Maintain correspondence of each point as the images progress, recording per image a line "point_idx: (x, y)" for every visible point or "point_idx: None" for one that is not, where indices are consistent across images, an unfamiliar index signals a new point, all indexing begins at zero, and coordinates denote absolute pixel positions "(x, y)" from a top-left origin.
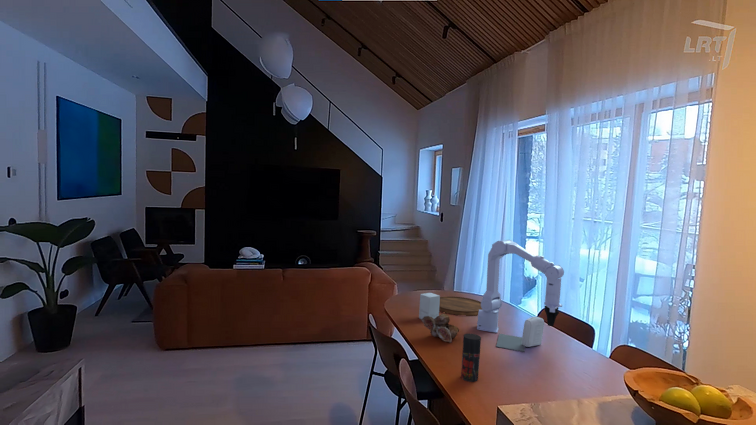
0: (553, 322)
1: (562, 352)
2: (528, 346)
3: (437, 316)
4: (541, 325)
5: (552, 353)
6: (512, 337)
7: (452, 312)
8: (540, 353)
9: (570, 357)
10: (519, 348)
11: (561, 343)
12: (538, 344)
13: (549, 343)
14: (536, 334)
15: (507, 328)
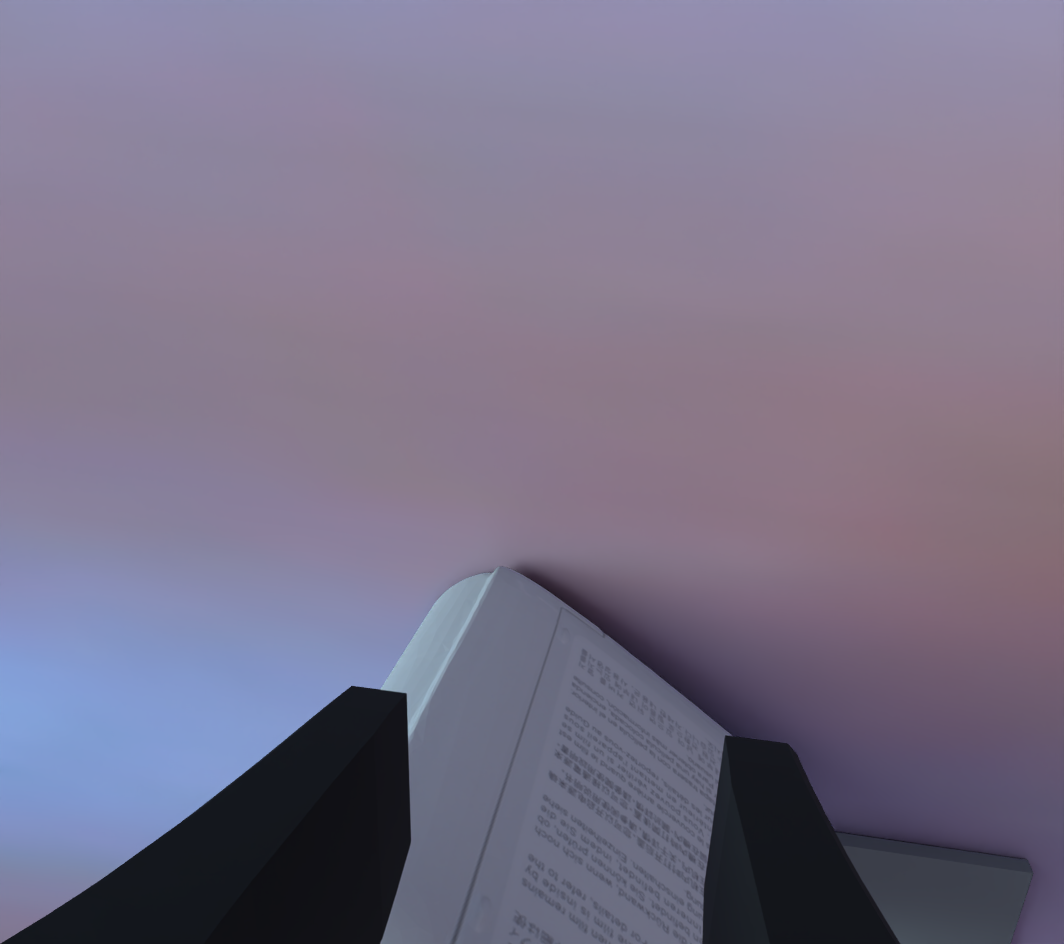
0: (845, 895)
1: (770, 175)
2: None
3: None
4: (519, 928)
5: (918, 399)
6: None
7: None
8: (1000, 621)
9: (1057, 9)
10: (918, 924)
11: (189, 139)
12: (587, 622)
13: (335, 391)
14: (674, 846)
15: (20, 926)
